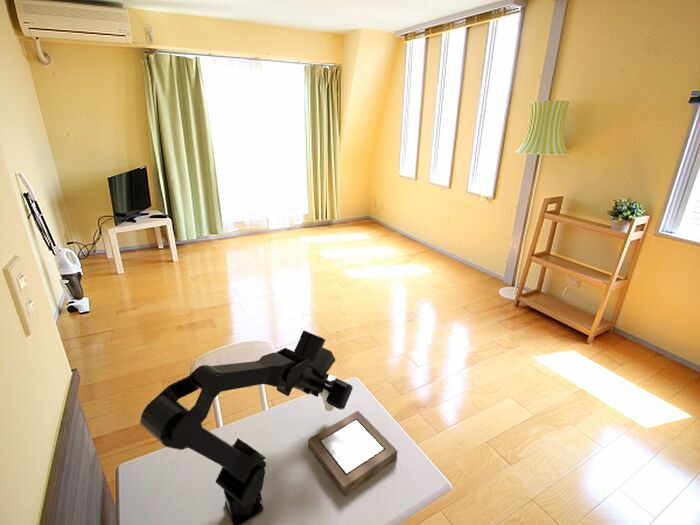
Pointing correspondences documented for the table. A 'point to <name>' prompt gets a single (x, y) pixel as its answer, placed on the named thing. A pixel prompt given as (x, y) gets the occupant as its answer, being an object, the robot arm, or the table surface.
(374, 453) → the platform
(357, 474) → the brown picture frame
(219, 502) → the table surface
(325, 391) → the lightbulb
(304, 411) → the table surface
